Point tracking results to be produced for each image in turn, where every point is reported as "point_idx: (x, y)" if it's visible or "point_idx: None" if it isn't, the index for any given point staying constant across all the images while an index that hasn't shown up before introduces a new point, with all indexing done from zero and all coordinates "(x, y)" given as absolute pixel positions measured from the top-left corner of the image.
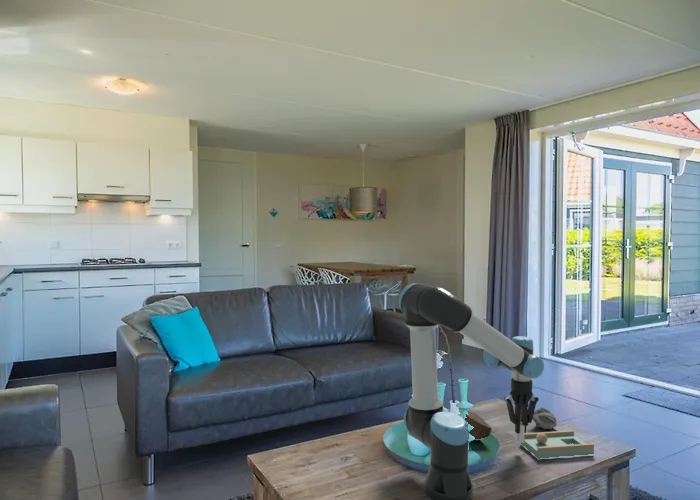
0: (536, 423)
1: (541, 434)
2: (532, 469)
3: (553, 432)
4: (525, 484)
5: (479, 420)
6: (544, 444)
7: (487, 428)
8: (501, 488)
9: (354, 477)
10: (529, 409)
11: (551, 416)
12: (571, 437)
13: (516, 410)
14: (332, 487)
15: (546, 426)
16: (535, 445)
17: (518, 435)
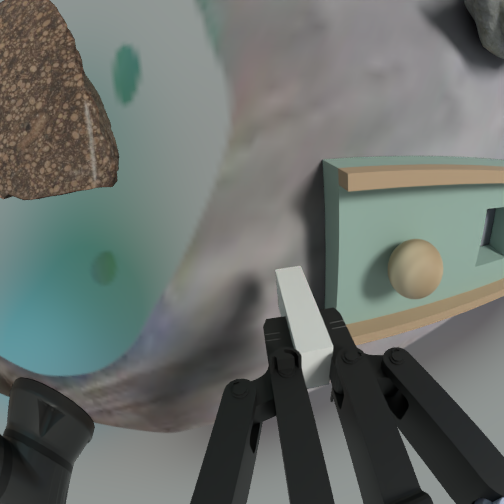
0: (474, 12)
1: (421, 292)
2: (265, 365)
3: (497, 180)
4: (210, 416)
5: (22, 123)
6: None
7: (84, 186)
8: (148, 420)
9: None
10: (435, 447)
11: None
12: None
13: (288, 493)
14: None
15: (497, 51)
16: (362, 275)
17: (282, 309)
